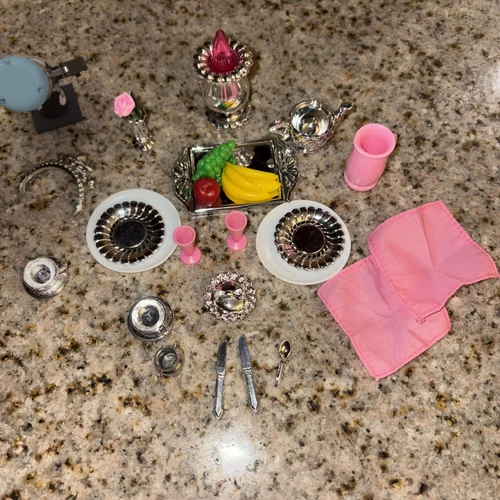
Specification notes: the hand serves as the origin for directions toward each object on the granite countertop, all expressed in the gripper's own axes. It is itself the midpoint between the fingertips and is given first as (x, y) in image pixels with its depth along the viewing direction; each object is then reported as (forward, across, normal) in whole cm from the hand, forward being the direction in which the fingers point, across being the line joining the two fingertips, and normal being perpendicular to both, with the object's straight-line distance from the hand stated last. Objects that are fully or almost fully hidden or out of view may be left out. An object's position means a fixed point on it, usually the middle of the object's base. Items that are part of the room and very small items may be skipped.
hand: (39, 81), depth 101 cm
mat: (+4, 0, -6) cm, 7 cm away
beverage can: (+3, 0, -6) cm, 7 cm away
